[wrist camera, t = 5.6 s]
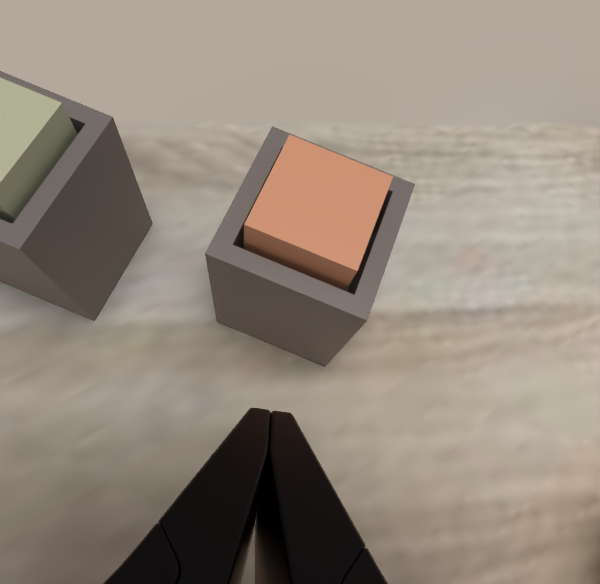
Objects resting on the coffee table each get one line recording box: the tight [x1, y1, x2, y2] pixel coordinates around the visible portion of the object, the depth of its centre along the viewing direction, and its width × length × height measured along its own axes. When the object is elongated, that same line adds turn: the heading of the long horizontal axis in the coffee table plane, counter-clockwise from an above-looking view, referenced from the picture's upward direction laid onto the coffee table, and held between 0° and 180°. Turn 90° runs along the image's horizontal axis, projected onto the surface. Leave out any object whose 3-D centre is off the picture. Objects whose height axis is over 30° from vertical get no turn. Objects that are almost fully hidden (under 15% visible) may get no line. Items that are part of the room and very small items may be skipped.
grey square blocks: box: [0, 71, 415, 366], centre depth 18 cm, size 22×19×8 cm
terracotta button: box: [244, 134, 393, 291], centre depth 17 cm, size 4×4×2 cm
